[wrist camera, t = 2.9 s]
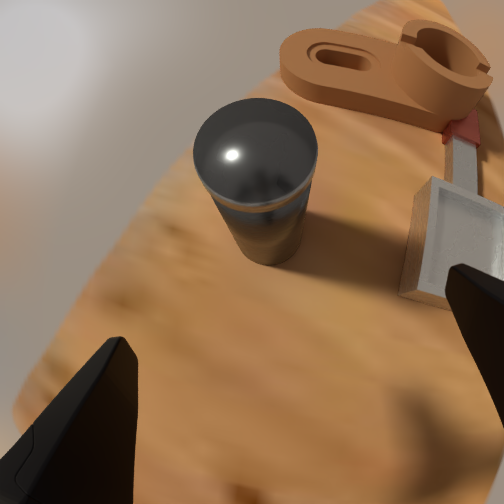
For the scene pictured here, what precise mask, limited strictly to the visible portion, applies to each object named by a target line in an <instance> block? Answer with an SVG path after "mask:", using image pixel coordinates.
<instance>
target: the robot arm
mask: <svg viewBox="0 0 504 504" xmlns="http://www.w3.org/2000/svg"><path fill="white" fill-rule="evenodd" d="M445 296H446V299H447V301H448V303H449V305H450V308H451V310H452V312H453V315H454V317H455V319H456V322H457V324H458V326H459V329H460V331H461V334H462V336H463V338H464V341H465V343H466V345H467V347H468V349H469V351H470V353H471V355H472V357H473V359H474V361H475V363H476V365H477V367H478V369H479V371H480V373H481V375H482V377H483V380H484V382H485V384H486V386H487V388H488V391H489V393H490V395H491V398H492V400H493V402H494V405H495V407H496V409H497V412H498V414H499V417H500V420H501V422H502V425H503V427H504V281H502V280H500V279H498V278H496V277H494V276H491V275H489V274H487V273H485V272H482V271H480V270H478V269H476V268H473V267H471V266H469V265H466V264H464V263H460V264H456V265H453V266H451V267H450V269H449V271H448V276H447V281H446V286H445ZM137 419H138V359H137V356H136V354H135V353H134V351H133V350H132V348H131V347H130V345H129V344H128V342H127V341H126V339H125V338H124V337H121V336H119V337H111V338H109V339H108V340H107V341H106V342H105V343H104V344H103V345H102V346H101V347H100V348H99V349H98V350H97V351H96V353H95V354H94V355H93V356H92V357H91V358H90V359H89V360H88V361H87V362H86V363H85V365H84V366H83V367H82V368H81V369H80V370H79V371H78V372H77V373H76V374H75V376H74V377H73V378H72V379H71V380H70V381H69V382H68V383H67V384H66V386H65V387H64V388H63V389H62V390H61V391H60V392H59V393H58V395H57V396H56V397H55V398H54V399H53V400H52V401H51V403H50V404H49V405H48V406H47V407H46V408H45V409H44V411H43V412H42V413H41V414H40V415H39V416H38V418H37V419H36V420H35V421H34V422H33V424H32V425H31V426H30V427H29V428H28V429H27V431H26V432H25V433H24V434H23V435H22V436H21V438H20V439H19V440H18V441H17V442H16V443H15V445H14V446H13V447H12V448H11V449H10V450H9V451H8V452H7V453H6V454H5V455H4V456H3V457H2V458H1V459H0V504H133V486H134V461H135V445H136V431H137Z"/></svg>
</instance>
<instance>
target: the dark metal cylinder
mask: <svg viewBox="0 0 504 504" xmlns="http://www.w3.org/2000/svg"><path fill="white" fill-rule="evenodd" d="M317 156H318V145H317V139H316V136H315V133H314V130H313V128H312V126H311V125H310V123H309V122H308V120H307V119H306V118H305V117H304V116H303V115H302V114H301V113H300V112H299V111H298V110H296V109H295V108H293V107H291V106H289V105H287V104H285V103H283V102H280V101H276V100H272V99H265V98H251V99H244V100H240V101H236V102H233V103H231V104H228V105H226V106H224V107H222V108H221V109H219V110H218V111H216V112H215V113H214V114H212V115H211V116H210V117H209V118H208V119H207V120H206V121H205V122H204V124H203V125H202V126H201V128H200V130H199V132H198V134H197V136H196V139H195V142H194V149H193V158H194V165H195V169H196V171H197V174H198V176H199V178H200V180H201V181H202V183H203V185H204V187H205V188H206V190H207V191H208V192H209V194H210V195H211V197H212V199H213V201H214V202H215V204H216V206H217V208H218V210H219V211H220V213H221V215H222V217H223V219H224V221H225V222H226V224H227V226H228V228H229V230H230V232H231V233H232V235H233V237H234V239H235V241H236V242H237V244H238V246H239V248H240V250H241V251H242V253H243V254H244V255H245V256H246V257H247V258H248V259H250V260H251V261H253V262H255V263H258V264H262V265H275V264H279V263H282V262H284V261H286V260H287V259H289V258H290V257H291V256H292V255H293V254H294V253H295V252H296V250H297V248H298V246H299V244H300V241H301V236H302V231H303V225H304V220H305V215H306V210H307V204H308V199H309V193H310V188H311V182H312V178H313V175H314V172H315V167H316V161H317Z"/></svg>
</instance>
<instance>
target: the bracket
mask: <svg viewBox="0 0 504 504" xmlns="http://www.w3.org/2000/svg"><path fill="white" fill-rule="evenodd" d="M490 68H491V67H490V65H489V63H488V61H487V60H486V58H485V57H484V55H483V54H482V53H481V52H480V51H479V49H478V48H477V47H476V46H474V44H472V43H471V42H470V41H469V40H468V39H466V38H465V37H464V36H462V35H461V34H459V33H458V32H456V31H454V30H452V29H451V28H449V27H446V26H444V25H442V24H439V23H436V22H432V21H427V20H412V21H409V22H407V23H406V24H405V25H404V27H403V29H402V33H401V36H400V39H399V42H398V44H395V43H391V42H387V41H383V40H379V39H375V38H371V37H367V36H362V35H358V34H353V33H348V32H343V31H337V30H332V29H322V28H319V29H318V28H317V29H316V28H315V29H306V30H302V31H299V32H296V33H294V34H292V35H290V36H289V37H288V38H287V39H285V40H284V42H283V43H282V45H281V47H280V74H281V77H282V80H283V81H284V83H285V84H286V86H287V87H288V88H289V89H290V90H291V91H293V92H294V93H295V94H297V95H298V96H300V97H302V98H304V99H306V100H309V101H312V102H316V103H320V104H325V105H330V106H336V107H341V108H346V109H351V110H355V111H360V112H364V113H369V114H373V115H377V116H381V117H385V118H389V119H393V120H396V121H400V122H404V123H407V124H411V125H414V126H418V127H421V128H424V129H427V130H431V131H434V132H440V133H442V132H443V130H444V129H445V128H446V126H447V125H448V123H449V122H450V120H459V119H463V118H465V117H467V116H468V115H469V114H470V112H471V111H472V110H473V108H474V107H475V106H476V104H477V103H478V102H479V100H480V99H481V97H482V96H483V95H484V93H485V92H486V90H487V89H488V87H489V86H490V85H491V83H492V81H493V77H491V76H489V75H487V73H488V71H489V70H490Z"/></svg>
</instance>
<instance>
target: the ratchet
mask: <svg viewBox="0 0 504 504" xmlns="http://www.w3.org/2000/svg"><path fill="white" fill-rule="evenodd" d="M442 144H445V181H444V180H441V179H439V178H436V177H433V176H431V178H430V179H429V180H428V181H427V182H426V183H425V184H424V185H423V187H422V188H421V189H420V190H419V191H418V192H417V193H416V194H415V195H414V201H413V209H412V217H411V224H410V231H409V237H408V243H407V249H406V255H405V261H404V266H403V271H402V276H401V281H400V286H399V290H398V295H397V296H401V297H404V298H408V299H411V300H415V301H418V302H422V303H425V304H429V305H432V306H436V307H439V308H443V309H446V310H450V311H452V310H451V308H450V305H449V303H448V301H447V299H446V296H445V286H446V281H447V276H448V271H449V269H450V267H451V266H453V265H456V264H460V263H464V264H466V265H469V266H471V267H473V268H476V269H478V270H480V271H482V272H485V273H487V274H489V275H491V276H494V277H496V278H498V279H500V280H502V281H504V207H503V206H501V205H499V204H497V203H494V202H492V201H490V200H488V199H486V198H484V197H481V196H479V195H477V156H476V149H477V148H478V147H479V146H480V145H481V142H480V132H479V123H478V115H477V110H475V109H473V110H472V111H471V112H470V114H469V115H468V116H467V117H465V118H463V119H459V120H450V122H449V123H448V125H447V126H446V128H445V129H444V130H443V132H442Z"/></svg>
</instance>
